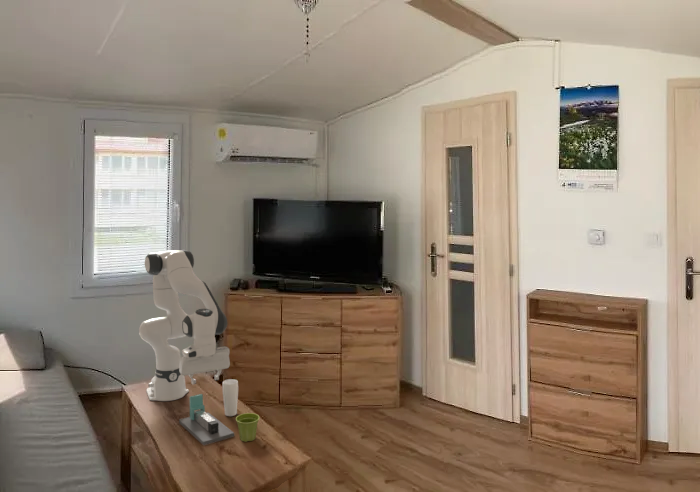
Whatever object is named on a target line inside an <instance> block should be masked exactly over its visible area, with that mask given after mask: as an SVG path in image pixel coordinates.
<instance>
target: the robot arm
mask: <svg viewBox="0 0 700 492" xmlns="http://www.w3.org/2000/svg"><path fill="white" fill-rule="evenodd" d="M194 257H195V256H194V255H193V253H192V252H191V251H190V250H186V249H182V250H177V249H174V250H173V249H171V250H170V249H169V250H163V251H158V252H156V251H154V252H153V251H152V252H149V253H148V254H147V255H146V256H145V259H144V268H145V271H146V273H147V274H148V275H150V276H152V277H153V278H152V289H153V290H152V291H153V293H152V294H153V295H152V296H153V303H154V305H155V307H156V308H157V309H160V310H162V311H165V312H166V316H161V317H153V318H149V319H147V320H143V321H142V322H141V323H140V325H139V328H138V334H139V336H140V338H141V339H142V340H143V341H144V342H146V343H147V344H149V345H150V347H151V348H152V349H153V351H154V354H155V364H156V366H155V367H156V368H155V370H154V376H153V377H152V378H151V379H150V380H151V381H150V382H148V387H147V388H146V391H145V392H146V394H147V396H148V400H149V401H159V402H171V401H175V400H179V399H181V398H183V397H184V396H186V394H188V393H189V389H188V388H186V377H185V376H188V377H189V378H190V380H191V384H192V385H196V384H197V379H196V378H194V375H195V374H202V373H208V372H213V371H217V372H216V374H214V376H213V377H214V378H213V379H214V380H215V381H219V380H220V375H221V373H222V370H226V369H229V367H230V366H231V361H230V351H231V350H230V348H229V347H228V346H217V342H216V341H217V340H216V337H215V336H216V335H221V334H223V333H224V332H225V330H226V329H227V327H228V319H227V316H226V314H225V312H223V310H222V309H221V307H220V306H219V304H218V302H217V300H216V299H215V297H214V295H213V293H212V292H211V289H210V287H208V284H207V283H206V282H205V281H202V280H201V279H200V278H199V277H198V276H197V275H196V273H195V272H194V269H193V268H194V265H195V258H194ZM179 294H181V295H187V296H191V297H195V298H198V299H199V300H201V302H202V303H203V305H204V307H205V308H198V309H196V310H195V311H194V313H191V314H188V313H186V312H185V311H184V309H183V308H182V306H181V303H180V297H179ZM186 336H187V337H188V338H193V343H192V344H191V345H189V346H187V347H186V348H183V349H182V350H180V349H179V348H178V347H177V346H174V345H171V344H169V342H168V341H169V340H172V339H179V338H185V337H186ZM181 354H182V355H181Z"/></svg>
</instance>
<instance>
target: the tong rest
mask: <svg viewBox="0 0 700 492" xmlns="http://www.w3.org/2000/svg"><path fill="white" fill-rule="evenodd" d="M197 411H200V409H199V410H195V411H194V420H191V419H190V416H188V417H185V418H184V417H183V418H179V419H178V420H179V421H178V423H179V425H181V426H182V427H183V428H184V429H185V430H186V431H187V432H188V433H189V434H191V436H193V437H194V438H195V439H196V440H197V441H198V442H199V443H200V444H201V445H202V446H207V445H209V444H213V443H216V442H217V443H218V442H220V441H223V440H227V439H230V438H235V432H234V431H233V430H231V429H230V428H229V427H227V426H226V425H225V424H224V423H223V422H221V421H220V420H219V419H217V418H216V417H215V416H214V415H212V414H211V413H210V412H208V411H207V412H206V413H207V414H208V415H209V416H211V417H212V418H213V419H214V420H216V421H217V422H218V430H219V432H218V433H214V434H211V433H209V432H208V431H207V430H206V429H205V428H204V427H202V426H201V425H200V424H199V423H198V422H197V421H196V412H197Z"/></svg>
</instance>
